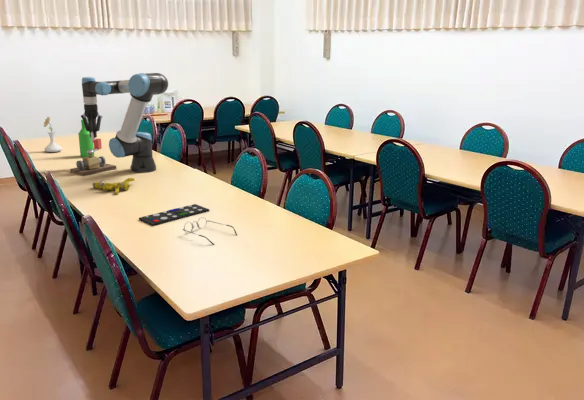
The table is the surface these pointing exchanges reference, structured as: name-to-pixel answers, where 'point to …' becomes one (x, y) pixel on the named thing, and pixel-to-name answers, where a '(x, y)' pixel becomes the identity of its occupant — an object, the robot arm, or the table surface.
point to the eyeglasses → (205, 225)
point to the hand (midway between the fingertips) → (93, 142)
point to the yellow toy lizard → (113, 185)
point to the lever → (95, 146)
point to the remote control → (173, 214)
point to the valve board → (93, 171)
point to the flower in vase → (52, 146)
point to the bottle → (85, 141)
